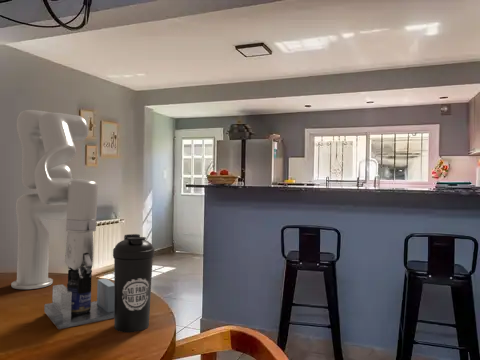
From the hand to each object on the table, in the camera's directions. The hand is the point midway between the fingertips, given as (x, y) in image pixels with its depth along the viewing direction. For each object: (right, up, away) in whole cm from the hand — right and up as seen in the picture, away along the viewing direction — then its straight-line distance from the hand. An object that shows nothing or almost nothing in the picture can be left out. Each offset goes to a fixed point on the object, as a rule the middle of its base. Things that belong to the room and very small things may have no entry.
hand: (78, 287), depth 105 cm
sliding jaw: (+6, -7, +4) cm, 10 cm away
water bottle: (+16, -8, -7) cm, 19 cm away
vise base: (+2, -8, +1) cm, 8 cm away
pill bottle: (0, -7, 0) cm, 7 cm away
